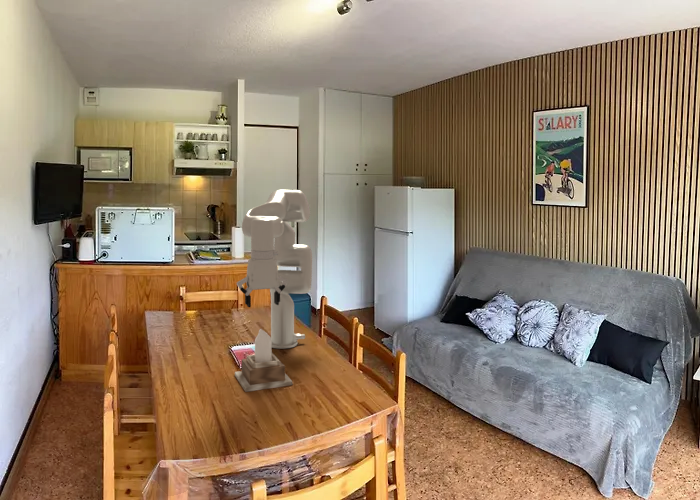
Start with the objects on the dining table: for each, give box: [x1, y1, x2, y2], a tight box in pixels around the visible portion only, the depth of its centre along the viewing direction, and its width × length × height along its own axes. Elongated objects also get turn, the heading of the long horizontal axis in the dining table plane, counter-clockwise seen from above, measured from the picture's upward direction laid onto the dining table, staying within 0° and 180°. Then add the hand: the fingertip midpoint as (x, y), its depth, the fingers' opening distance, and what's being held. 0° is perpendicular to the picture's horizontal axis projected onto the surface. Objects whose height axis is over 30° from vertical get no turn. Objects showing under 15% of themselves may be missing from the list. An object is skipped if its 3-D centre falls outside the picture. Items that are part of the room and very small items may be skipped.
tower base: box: [234, 352, 293, 393], centre depth 182 cm, size 16×16×8 cm
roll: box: [254, 328, 273, 363], centre depth 181 cm, size 6×12×6 cm
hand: (262, 305), depth 179 cm, fingers open, 9 cm apart
